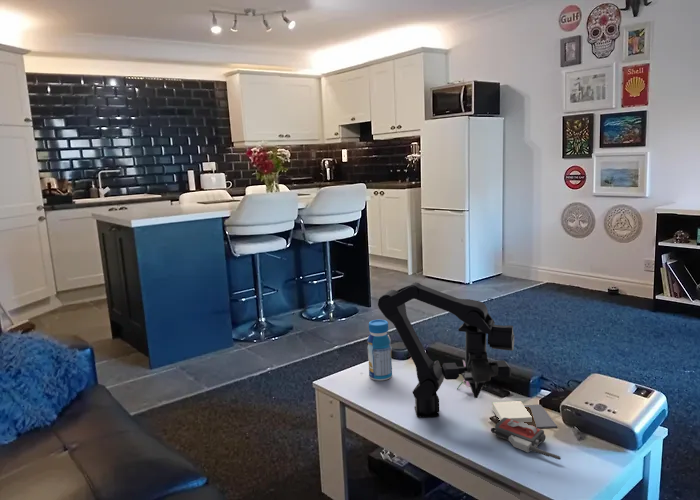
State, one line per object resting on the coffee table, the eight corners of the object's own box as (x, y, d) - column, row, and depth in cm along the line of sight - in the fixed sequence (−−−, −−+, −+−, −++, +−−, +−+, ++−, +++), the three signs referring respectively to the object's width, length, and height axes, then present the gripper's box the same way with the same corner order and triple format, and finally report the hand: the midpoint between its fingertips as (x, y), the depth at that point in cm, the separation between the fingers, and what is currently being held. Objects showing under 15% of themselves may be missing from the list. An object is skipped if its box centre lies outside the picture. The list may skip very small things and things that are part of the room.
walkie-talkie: (486, 438, 146) (558, 465, 132) (485, 423, 145) (558, 449, 131) (502, 424, 152) (573, 449, 138) (502, 410, 151) (573, 433, 137)
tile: (502, 418, 150) (532, 417, 150) (492, 402, 160) (520, 400, 160) (502, 426, 151) (532, 424, 151) (492, 409, 161) (520, 407, 161)
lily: (461, 403, 168) (475, 381, 166) (439, 380, 176) (452, 359, 173) (481, 402, 176) (495, 381, 173) (459, 380, 183) (472, 359, 181)
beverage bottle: (383, 383, 183) (381, 327, 180) (363, 378, 189) (361, 323, 185) (397, 374, 190) (395, 320, 186) (378, 369, 195) (375, 317, 192)
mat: (506, 429, 149) (506, 428, 149) (494, 408, 162) (494, 406, 162) (557, 427, 149) (557, 425, 149) (540, 405, 162) (540, 404, 162)
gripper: (448, 358, 144) (449, 412, 147) (517, 355, 144) (516, 409, 147) (441, 344, 155) (441, 394, 158) (505, 341, 155) (504, 391, 158)
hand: (475, 397), depth 155 cm, fingers closed
